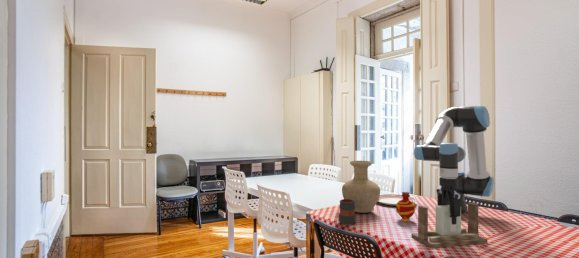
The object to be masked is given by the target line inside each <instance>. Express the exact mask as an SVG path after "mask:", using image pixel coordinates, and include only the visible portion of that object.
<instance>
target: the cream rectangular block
mask: <svg viewBox="0 0 579 258" xmlns="http://www.w3.org/2000/svg"><path fill="white" fill-rule="evenodd" d="M449 216H451V214H450V207H449V205H442V206H437V205H435V230H436V233H438V234H440V235H451V234H461V228H462V213H460V216H458V217H457V218H456V231H453V232H450V231H449Z"/></svg>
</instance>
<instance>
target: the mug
mask: <svg viewBox="0 0 579 258" xmlns="http://www.w3.org/2000/svg"><path fill="white" fill-rule="evenodd" d="M355 213H356V212H355V202H354V200H351V199H344V198H343V199H340V200H339V213H338V221H339V223H340V224H342V225H347V226H352V225H354V224H355V223H356V214H355Z"/></svg>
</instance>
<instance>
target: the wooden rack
mask: <svg viewBox="0 0 579 258" xmlns="http://www.w3.org/2000/svg"><path fill="white" fill-rule="evenodd" d="M467 208H468V211H467V228H464V227H463V228H462V227H461V234H451V235H440V234H438V233H436V229H435V230H429V226H428V225H429V207H427V206H425V205H418V206H417V209H418V210H417V216H418V217H417V232H416V233H411V238H412V239H414V240H417V242H420V243H422V244H424V245H425V246H427V247H429V248H431V249H434V248H445V247H446V248H447V247H456V246H465V245H466V246H467V245H475V244H477V245H478V244H487V243H488V238H485V237H483V236H481V235H480V234H479V204H478V203H475V202H467Z"/></svg>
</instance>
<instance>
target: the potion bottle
mask: <svg viewBox="0 0 579 258" xmlns="http://www.w3.org/2000/svg"><path fill="white" fill-rule="evenodd" d="M400 195H401V196H402V197H403V199H402V200H400V201H398V203H397V204H396V206H395V211H396V213H397V214H398V215H399V217H400V221H402V222H411V220H412V219H411V218H412V217H413V216H414V214H415V213H416V209H417V208H416V204H415V203H413V202H412V201H410V199H408V197H411V195H410V192H409V191H402V192H401V194H400Z"/></svg>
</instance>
